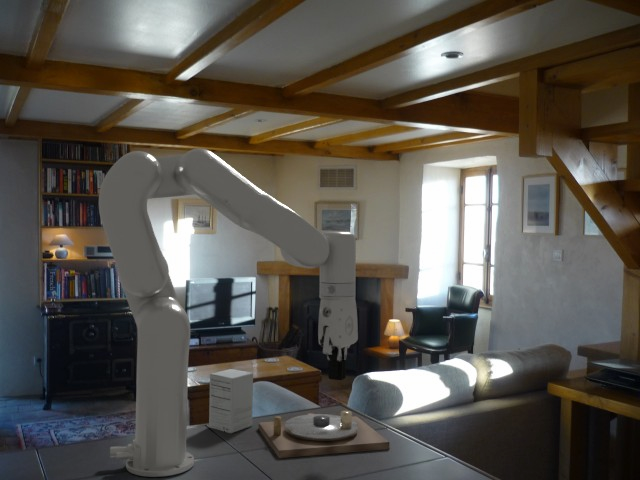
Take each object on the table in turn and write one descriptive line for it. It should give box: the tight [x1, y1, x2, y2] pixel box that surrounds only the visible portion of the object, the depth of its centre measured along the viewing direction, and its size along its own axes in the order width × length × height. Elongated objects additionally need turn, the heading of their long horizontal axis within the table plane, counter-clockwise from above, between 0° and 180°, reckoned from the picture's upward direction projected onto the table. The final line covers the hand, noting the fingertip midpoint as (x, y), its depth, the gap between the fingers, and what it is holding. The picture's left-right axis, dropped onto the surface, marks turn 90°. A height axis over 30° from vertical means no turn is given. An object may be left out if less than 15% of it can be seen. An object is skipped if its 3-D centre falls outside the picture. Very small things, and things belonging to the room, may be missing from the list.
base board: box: [258, 415, 390, 459], centre depth 140 cm, size 24×20×5 cm
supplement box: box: [208, 368, 254, 434], centre depth 148 cm, size 7×7×13 cm
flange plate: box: [285, 410, 358, 441], centre depth 141 cm, size 16×17×5 cm
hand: (336, 378), depth 132 cm, fingers closed
